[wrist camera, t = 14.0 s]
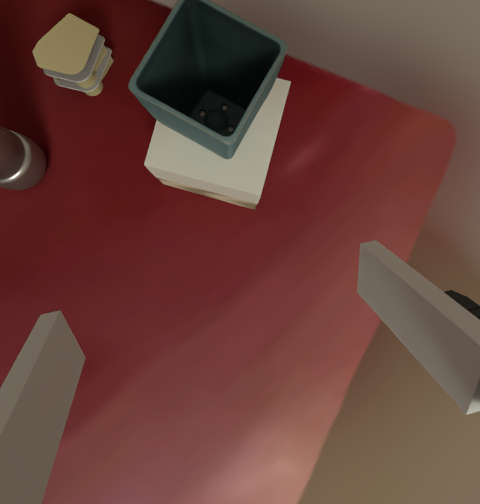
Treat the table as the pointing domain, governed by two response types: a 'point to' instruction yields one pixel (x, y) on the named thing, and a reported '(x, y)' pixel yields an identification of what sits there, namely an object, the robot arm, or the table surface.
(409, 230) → the table surface
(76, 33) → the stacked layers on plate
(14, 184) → the plastic bottle
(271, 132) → the top slab
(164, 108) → the flower pot
